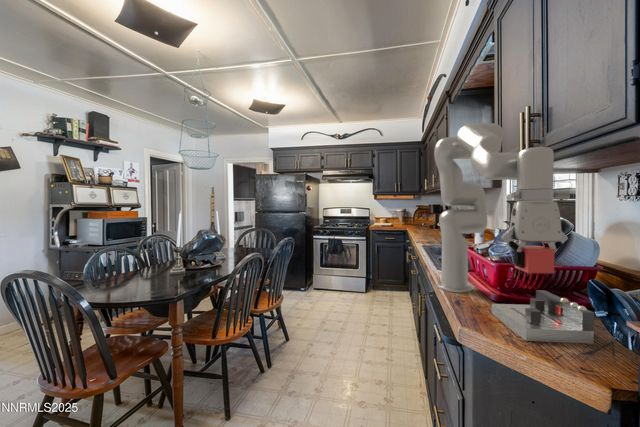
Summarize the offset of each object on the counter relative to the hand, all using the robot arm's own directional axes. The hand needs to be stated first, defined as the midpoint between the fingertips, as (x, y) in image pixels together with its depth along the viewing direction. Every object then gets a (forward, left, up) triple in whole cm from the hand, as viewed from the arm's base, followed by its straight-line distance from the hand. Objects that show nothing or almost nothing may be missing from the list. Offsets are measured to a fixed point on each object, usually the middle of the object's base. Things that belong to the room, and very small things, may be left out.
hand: (533, 266), depth 75 cm
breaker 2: (0, 0, -14) cm, 14 cm away
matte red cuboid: (0, 0, -1) cm, 1 cm away
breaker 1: (-9, +6, -14) cm, 18 cm away
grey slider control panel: (-5, +3, -18) cm, 18 cm away
